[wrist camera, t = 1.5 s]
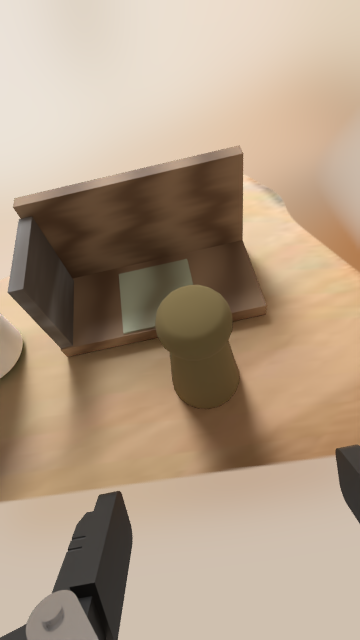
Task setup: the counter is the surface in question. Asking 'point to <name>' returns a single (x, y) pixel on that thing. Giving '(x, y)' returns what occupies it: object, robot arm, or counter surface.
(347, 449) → the robot arm
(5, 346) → the can
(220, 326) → the cork
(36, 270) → the shelf
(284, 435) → the counter surface
